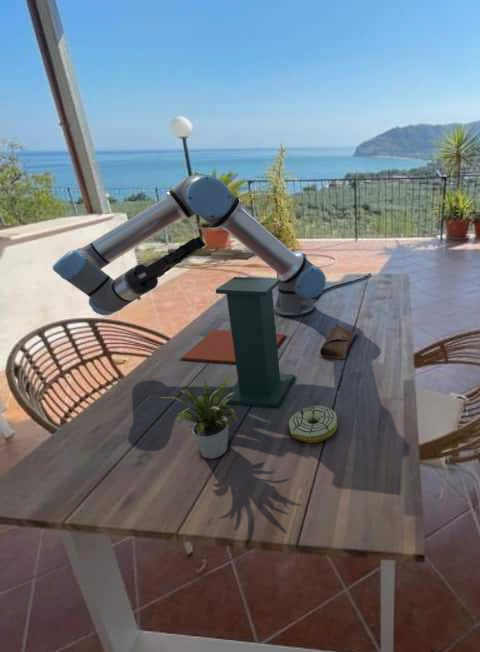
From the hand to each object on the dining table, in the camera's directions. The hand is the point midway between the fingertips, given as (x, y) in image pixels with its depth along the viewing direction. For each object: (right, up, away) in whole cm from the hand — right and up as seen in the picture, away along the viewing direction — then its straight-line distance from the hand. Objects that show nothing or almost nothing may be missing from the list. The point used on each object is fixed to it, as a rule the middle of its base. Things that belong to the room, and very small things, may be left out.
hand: (199, 242), depth 101 cm
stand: (+16, -39, +2) cm, 42 cm away
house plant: (+10, -47, -20) cm, 52 cm away
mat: (+2, -30, +25) cm, 39 cm away
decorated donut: (+31, -45, -13) cm, 56 cm away
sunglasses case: (+35, -30, +26) cm, 53 cm away
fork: (+3, -4, +1) cm, 5 cm away
